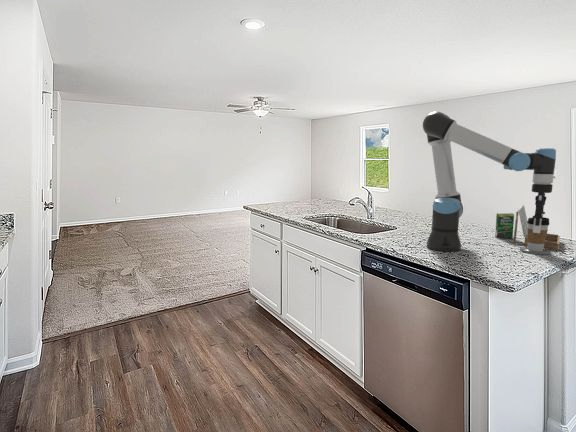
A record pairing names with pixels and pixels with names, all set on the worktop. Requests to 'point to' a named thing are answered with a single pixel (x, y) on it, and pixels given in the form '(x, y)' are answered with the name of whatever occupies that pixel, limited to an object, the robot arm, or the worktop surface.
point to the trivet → (544, 252)
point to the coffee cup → (537, 235)
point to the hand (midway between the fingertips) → (537, 230)
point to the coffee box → (504, 225)
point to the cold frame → (525, 231)
